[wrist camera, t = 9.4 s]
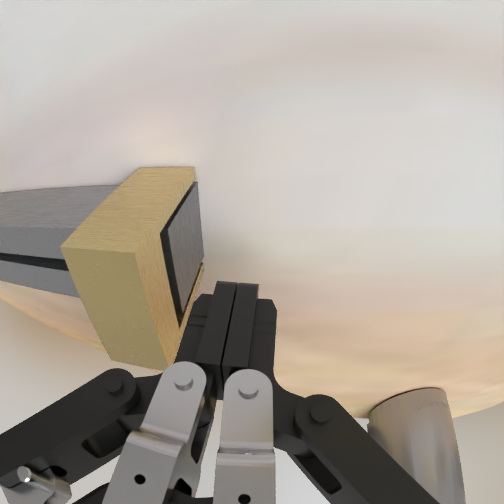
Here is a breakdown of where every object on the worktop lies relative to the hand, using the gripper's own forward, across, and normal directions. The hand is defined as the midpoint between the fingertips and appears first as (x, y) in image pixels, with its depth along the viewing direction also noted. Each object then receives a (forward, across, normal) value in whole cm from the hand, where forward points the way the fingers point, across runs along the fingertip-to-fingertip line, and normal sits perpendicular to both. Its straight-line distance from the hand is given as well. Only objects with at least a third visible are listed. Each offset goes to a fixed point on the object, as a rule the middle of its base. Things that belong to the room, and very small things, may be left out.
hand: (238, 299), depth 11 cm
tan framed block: (+6, +4, 0) cm, 7 cm away
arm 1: (+6, +17, -1) cm, 18 cm away
